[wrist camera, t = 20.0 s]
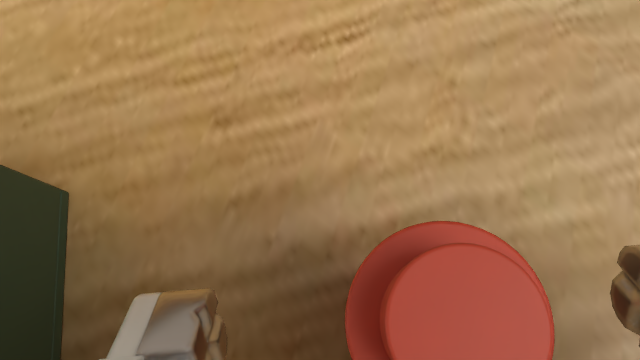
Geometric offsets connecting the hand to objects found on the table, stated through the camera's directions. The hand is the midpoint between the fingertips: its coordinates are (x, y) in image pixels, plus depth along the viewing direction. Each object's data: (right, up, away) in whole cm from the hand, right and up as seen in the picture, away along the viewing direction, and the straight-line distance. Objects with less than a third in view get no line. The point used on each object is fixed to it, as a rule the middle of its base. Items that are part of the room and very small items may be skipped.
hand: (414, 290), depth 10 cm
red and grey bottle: (+1, -2, +6) cm, 7 cm away
